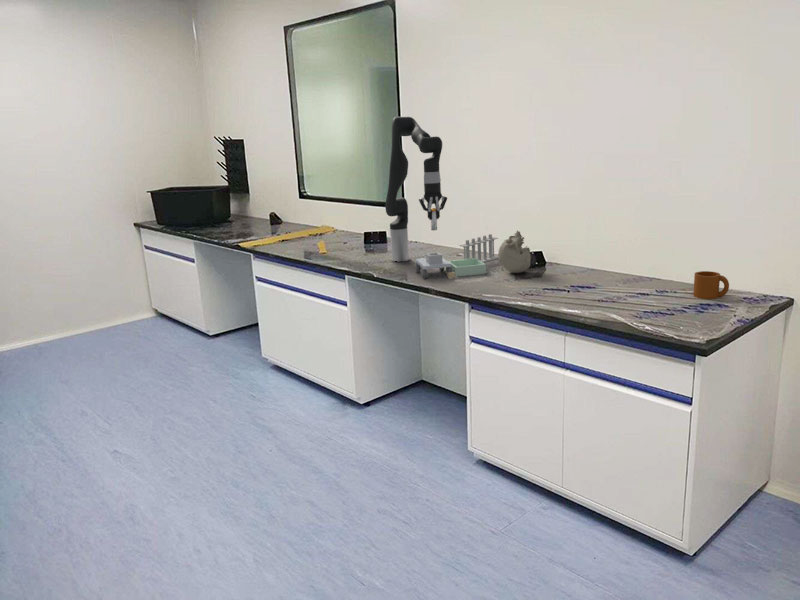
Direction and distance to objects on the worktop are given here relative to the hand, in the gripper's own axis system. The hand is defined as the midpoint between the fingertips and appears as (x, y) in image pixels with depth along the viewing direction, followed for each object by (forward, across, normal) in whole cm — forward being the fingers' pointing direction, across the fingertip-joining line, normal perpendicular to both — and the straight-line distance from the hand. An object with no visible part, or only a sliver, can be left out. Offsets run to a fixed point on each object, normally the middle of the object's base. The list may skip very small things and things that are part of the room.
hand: (433, 219), depth 290 cm
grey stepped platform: (+27, 0, -2) cm, 27 cm away
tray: (+27, -15, -1) cm, 31 cm away
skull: (+27, -35, +11) cm, 46 cm away
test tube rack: (+28, -28, -17) cm, 42 cm away
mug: (+27, -89, +77) cm, 121 cm away
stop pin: (+5, 0, 0) cm, 5 cm away
